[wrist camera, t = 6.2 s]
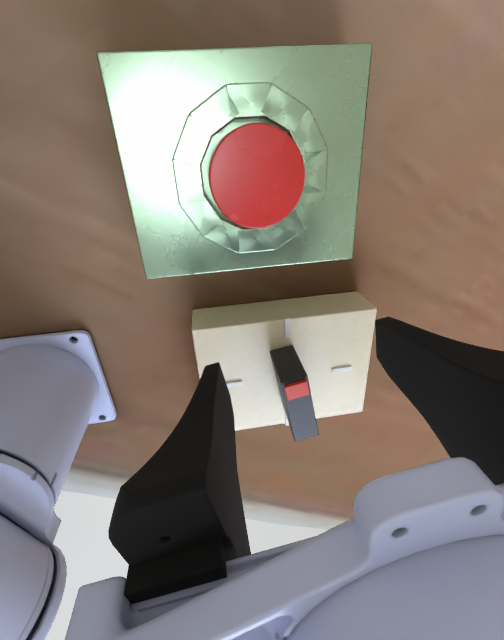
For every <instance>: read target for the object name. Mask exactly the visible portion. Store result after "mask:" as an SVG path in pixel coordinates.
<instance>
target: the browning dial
mask: <svg viewBox="0 0 504 640" xmlns="http://www.w3.org/2000/svg"><path fill="white" fill-rule="evenodd" d="M270 356H271V360H272V364H273V367H274V371H275V375H276V379H277V383H278V387H279V391H280V395H281V399H282V403H283V407H284V410H285V413H286V416H287V419H288V422H289V425H290V428H291V431H292V434H293V437H294V440H295V442H296V441H300V440H303V439H307V438H310V437H314V436H317V435H319V433H318V428H317V423H316V417H315V412H314V407H313V401H312V396H311V391H310V386H309V380H308V375H307V373H306V371H305V369H304V367H303V365H302V363H301V361H300V359H299V357H298V355H297V353H296V351H295V348H294V346H293V345H289V346H286V347H282V348H279V349H275V350H271V351H270Z"/></svg>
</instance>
